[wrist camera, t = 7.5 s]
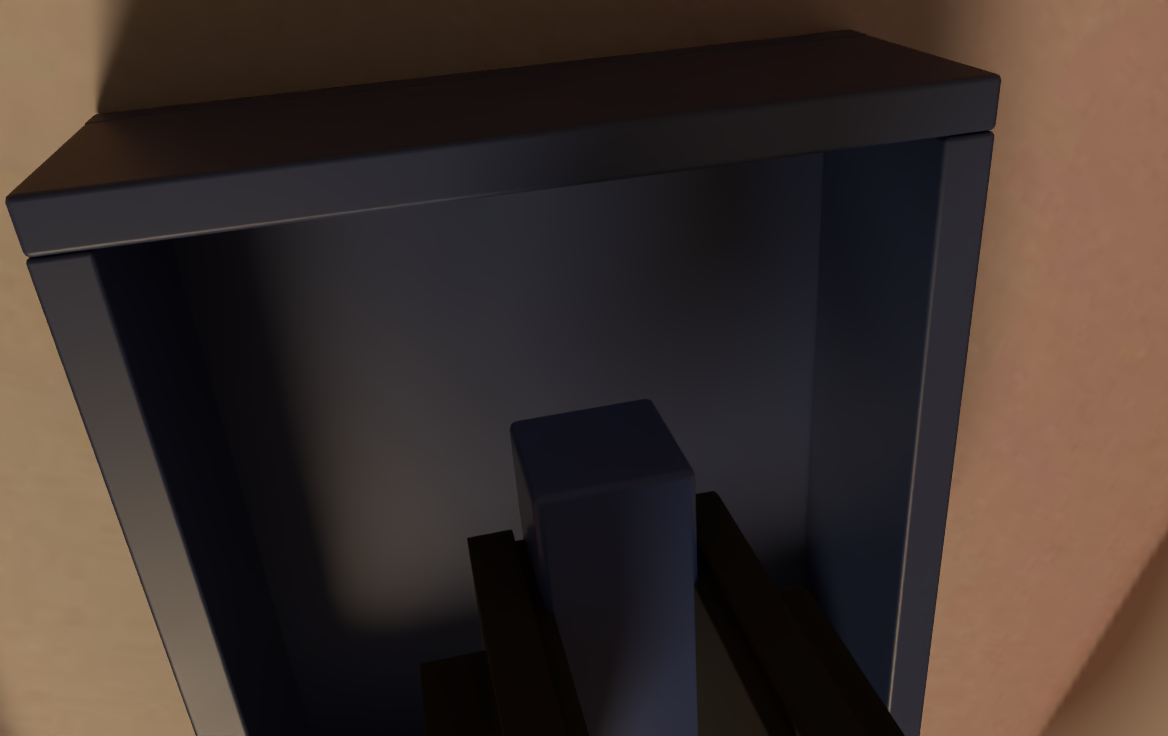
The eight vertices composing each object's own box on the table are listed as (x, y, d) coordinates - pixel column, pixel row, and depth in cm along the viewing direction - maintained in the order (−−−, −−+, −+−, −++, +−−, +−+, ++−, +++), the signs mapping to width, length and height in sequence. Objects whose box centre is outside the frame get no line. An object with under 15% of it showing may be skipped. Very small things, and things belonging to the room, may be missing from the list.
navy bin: (92, 114, 14) (-1, 197, 10) (851, 29, 15) (1004, 73, 12) (293, 775, 20) (280, 973, 16) (817, 660, 22) (911, 816, 18)
